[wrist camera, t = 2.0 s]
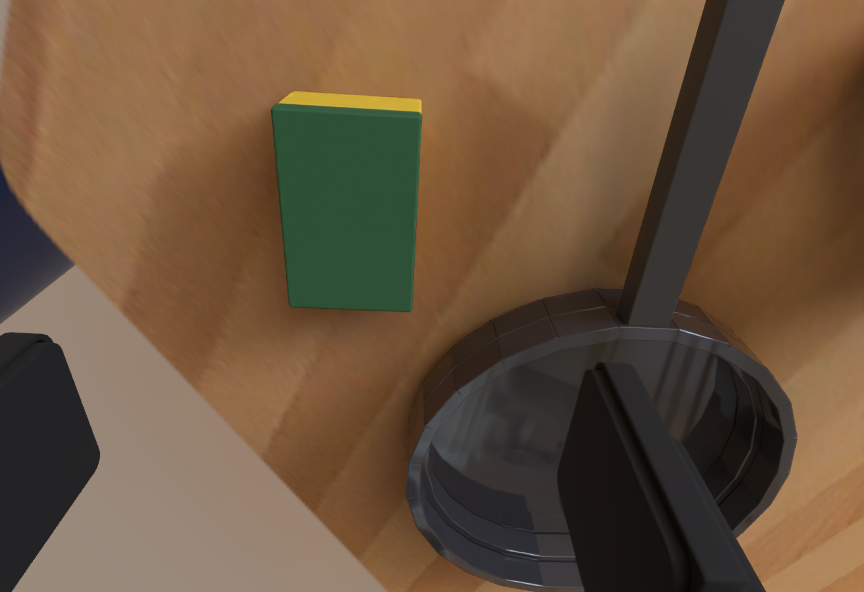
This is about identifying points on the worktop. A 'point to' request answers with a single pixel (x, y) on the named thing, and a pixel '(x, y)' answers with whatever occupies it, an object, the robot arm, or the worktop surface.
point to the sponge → (348, 198)
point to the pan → (550, 420)
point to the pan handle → (696, 153)
